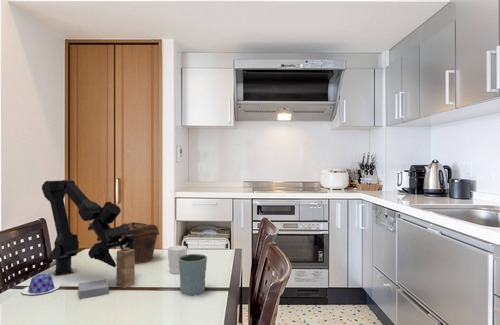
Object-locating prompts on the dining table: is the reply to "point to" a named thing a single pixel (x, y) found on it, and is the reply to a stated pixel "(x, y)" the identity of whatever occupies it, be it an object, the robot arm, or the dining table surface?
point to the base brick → (93, 288)
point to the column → (125, 268)
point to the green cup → (192, 273)
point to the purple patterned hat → (41, 284)
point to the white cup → (175, 257)
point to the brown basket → (143, 240)
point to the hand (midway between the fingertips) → (125, 263)
